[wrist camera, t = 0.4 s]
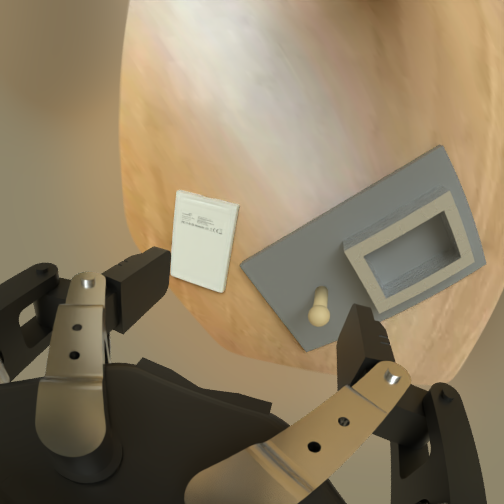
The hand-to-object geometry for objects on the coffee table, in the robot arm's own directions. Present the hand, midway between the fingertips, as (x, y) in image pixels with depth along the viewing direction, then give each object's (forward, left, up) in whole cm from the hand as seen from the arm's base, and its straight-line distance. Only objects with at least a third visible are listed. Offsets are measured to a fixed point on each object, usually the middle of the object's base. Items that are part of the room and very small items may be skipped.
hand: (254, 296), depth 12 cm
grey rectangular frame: (-7, +12, -20) cm, 25 cm away
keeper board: (-2, +12, -22) cm, 25 cm away
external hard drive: (+15, -1, -22) cm, 27 cm away
